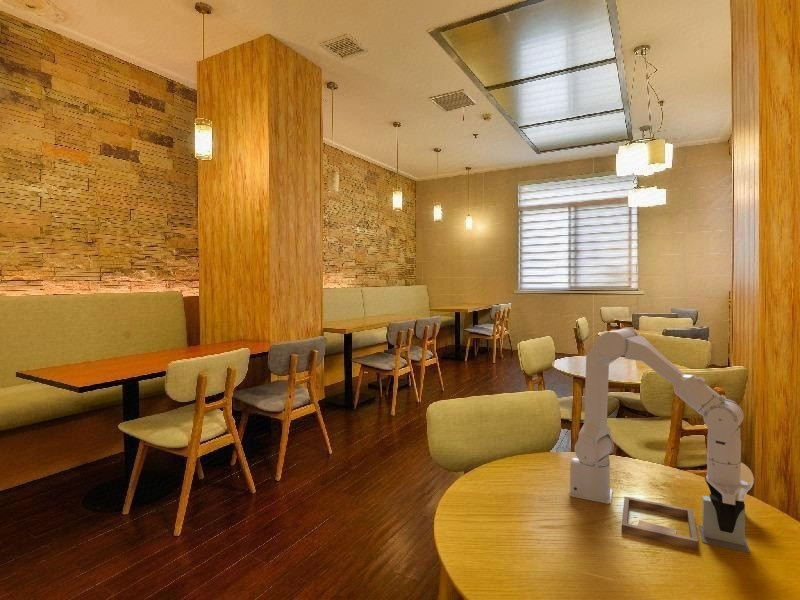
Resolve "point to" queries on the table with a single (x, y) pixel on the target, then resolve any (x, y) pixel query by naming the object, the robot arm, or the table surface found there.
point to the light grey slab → (712, 526)
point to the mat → (724, 543)
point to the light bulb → (747, 477)
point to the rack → (656, 534)
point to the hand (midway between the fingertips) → (723, 522)
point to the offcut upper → (656, 527)
